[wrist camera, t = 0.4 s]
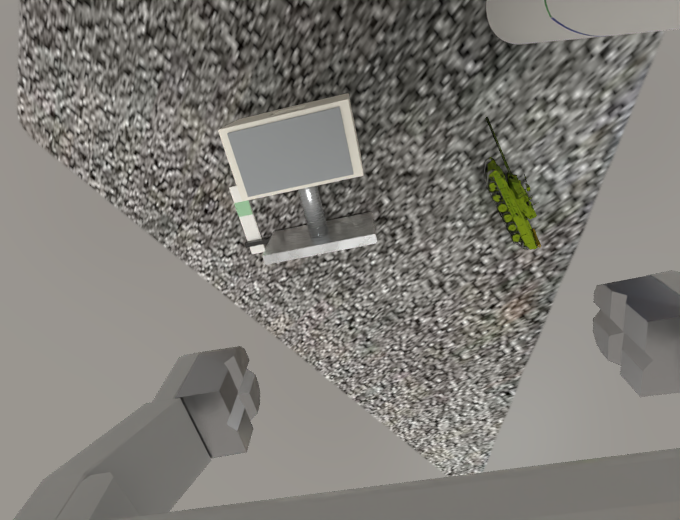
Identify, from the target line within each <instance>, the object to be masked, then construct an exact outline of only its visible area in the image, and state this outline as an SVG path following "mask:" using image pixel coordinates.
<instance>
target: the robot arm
mask: <svg viewBox="0 0 680 520" xmlns="http://www.w3.org/2000/svg"><path fill="white" fill-rule="evenodd" d="M594 303H595V304H596V305H597V306H598V307H599V308H600V311H599V312H598V313H597V315H596V316H595V317H594V318H593V333H594V337H595V340H596V344H597V346H598V347H599V349H600V351H601V353H602V354H603V355H604V356H605V357H606V358H607V360H609V361H611V362H613V363H616V364H618V365H620V366H621V371H620V374H621V376H622V377H623V378H624V379H625V380H626V381H627V382H628V384H629V385H630V386H631V387H632V388H633V389H634V391H635V392H636V393H637V394H638V395H639V396H640V397H645V396H653V395H662V394H671V393H680V272H677V271H666V272H661V273H656V274H652V275H647V276H644V277H638V278H633V279H628V280H623V281H617V282H612V283H607V284H601V285H597V286H596V289H595V291H594ZM248 362H249V358H248V355H247V353H246V351H245V349H244V348H242V347H240V346H238V347H232V348H225V349H219V350H212V351H205V352H198V353H193V354H187V355H183V356H181V357H179V358H178V360H177V362H176V363H175V365H174V367H173V368H172V370H171V371H170V373H169V375H168V377H167V378H166V380H165V381H164V383H163V385H162V386H161V388H160V390H159V391H158V393H157V395H156V396H155V398H154V400H153V401H152V402H151V403H146V404H144V405H143V406H141V407H140V408H139V409H137V410H136V411H135V412H133V413H132V414H131V415H130V416H128V417H127V418H125V419H124V420H123V421H121V422H120V423H119V424H117V425H116V426H115V427H113V428H112V429H111V430H109V431H108V432H107V433H105V434H104V435H103V436H101V437H100V438H99V439H97V440H96V441H94V442H93V443H92V444H90V445H89V446H88V447H87V448H85V449H84V450H82V451H81V452H80V453H78V454H77V455H76V456H75V457H73V458H72V459H70V460H69V461H68V462H66V463H65V464H64V465H62V466H61V467H60V468H58V469H57V470H56V471H54V472H53V473H52V474H50V475H49V476H48V477H46V478H45V479H44V480H43V481H42V482H41V483H40V485H39V486H38V487H37V489H36V490H35V491H34V493H33V494H32V495H31V497H30V498H29V499H28V501H27V502H26V503H25V505H24V506H23V507H22V509H21V510H20V511H19V513H18V514H17V515H16V517H15V518H14V519H13V520H680V448H676V449H668V450H659V451H651V452H643V453H636V454H627V455H620V456H611V457H603V458H595V459H587V460H579V461H571V462H563V463H555V464H547V465H538V466H531V467H522V468H514V469H506V470H498V471H491V472H483V473H475V474H467V475H459V476H451V477H444V478H435V479H427V480H420V481H413V482H404V483H396V484H389V485H380V486H372V487H364V488H357V489H349V490H341V491H333V492H325V493H317V494H309V495H301V496H293V497H285V498H277V499H269V500H261V501H254V502H245V503H238V504H230V505H222V506H214V507H206V508H198V509H190V510H182V511H175V512H169V511H170V510H171V509H172V507H173V506H174V505H175V504H176V503H177V501H178V500H179V499H180V498H181V497H182V495H183V494H184V493H185V492H186V491H187V489H188V488H189V487H190V486H191V484H192V483H193V482H194V481H195V480H196V478H197V477H198V476H199V475H200V473H201V472H202V471H203V470H204V468H206V466H207V465H208V464H209V463H210V461H211V458H216V457H222V456H228V455H234V454H240V453H245V452H247V450H248V446H249V443H250V439H251V435H252V432H253V426H252V424H251V422H250V421H251V419H252V418H253V417H254V416H255V415H256V414H257V413H258V410H259V405H260V389H259V384H258V381H257V378H256V375H255V374H254V373H253V372H251V371H250V370H248V369H247V366H248Z"/></svg>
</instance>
